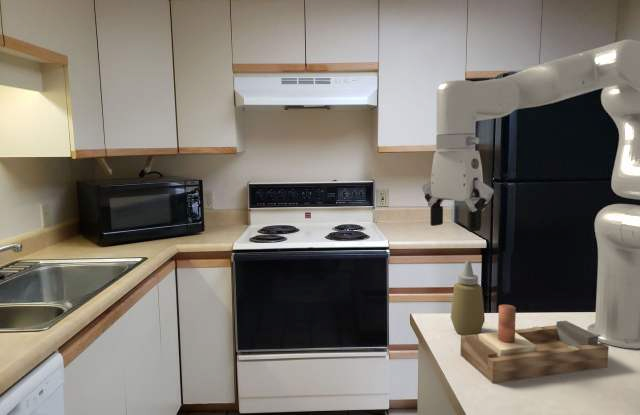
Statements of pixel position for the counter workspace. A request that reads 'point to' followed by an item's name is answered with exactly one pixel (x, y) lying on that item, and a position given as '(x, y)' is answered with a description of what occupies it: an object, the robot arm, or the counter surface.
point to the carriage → (507, 335)
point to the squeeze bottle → (467, 303)
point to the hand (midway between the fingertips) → (454, 227)
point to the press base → (539, 353)
